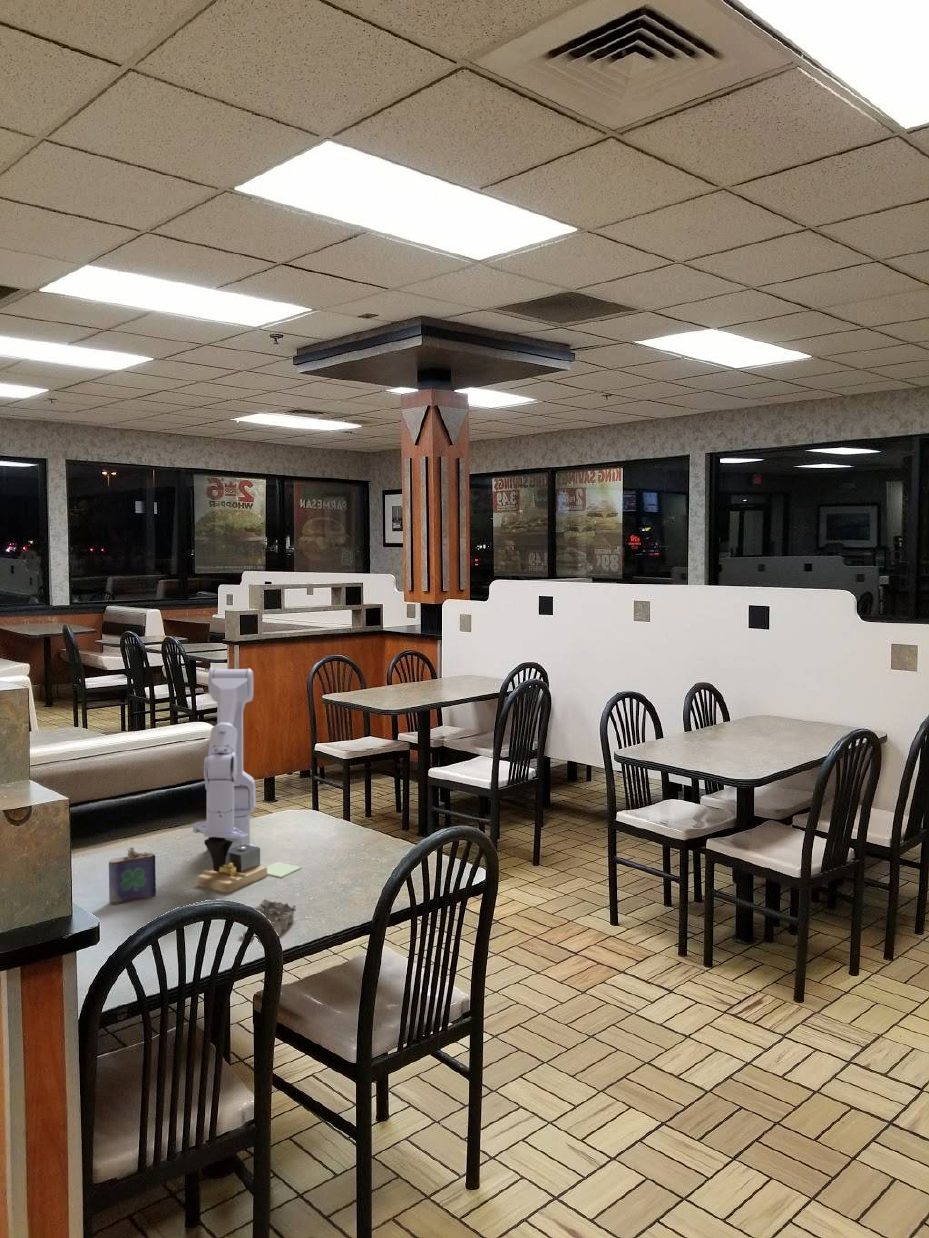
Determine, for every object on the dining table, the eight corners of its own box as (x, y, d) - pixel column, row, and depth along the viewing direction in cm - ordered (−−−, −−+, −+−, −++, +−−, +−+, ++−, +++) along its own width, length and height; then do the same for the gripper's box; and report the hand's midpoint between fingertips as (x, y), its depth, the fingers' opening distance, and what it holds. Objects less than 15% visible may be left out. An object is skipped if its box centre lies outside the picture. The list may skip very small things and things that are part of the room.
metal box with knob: (224, 869, 207) (223, 849, 206) (243, 861, 212) (242, 841, 211) (241, 873, 204) (241, 853, 204) (260, 865, 209) (260, 845, 209)
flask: (110, 905, 191) (109, 854, 190) (107, 901, 193) (106, 849, 192) (157, 897, 195) (156, 846, 195) (154, 893, 198) (153, 843, 197)
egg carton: (275, 942, 175) (275, 920, 175) (239, 937, 177) (238, 916, 177) (299, 919, 185) (299, 899, 185) (264, 915, 187) (264, 895, 187)
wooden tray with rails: (197, 885, 202) (197, 873, 202) (236, 868, 213) (236, 857, 213) (228, 893, 198) (228, 881, 198) (267, 875, 208) (267, 864, 208)
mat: (256, 872, 211) (256, 870, 211) (277, 863, 217) (277, 861, 217) (280, 877, 207) (280, 876, 207) (301, 868, 213) (301, 867, 213)
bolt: (217, 874, 203) (216, 862, 203) (222, 872, 204) (222, 860, 204) (230, 878, 201) (230, 865, 201) (236, 876, 203) (236, 863, 202)
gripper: (182, 807, 202) (182, 868, 204) (231, 820, 195) (231, 883, 197) (206, 799, 208) (206, 859, 210) (255, 811, 201) (255, 873, 203)
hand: (220, 870), depth 204 cm, fingers closed, pressing on bolt
